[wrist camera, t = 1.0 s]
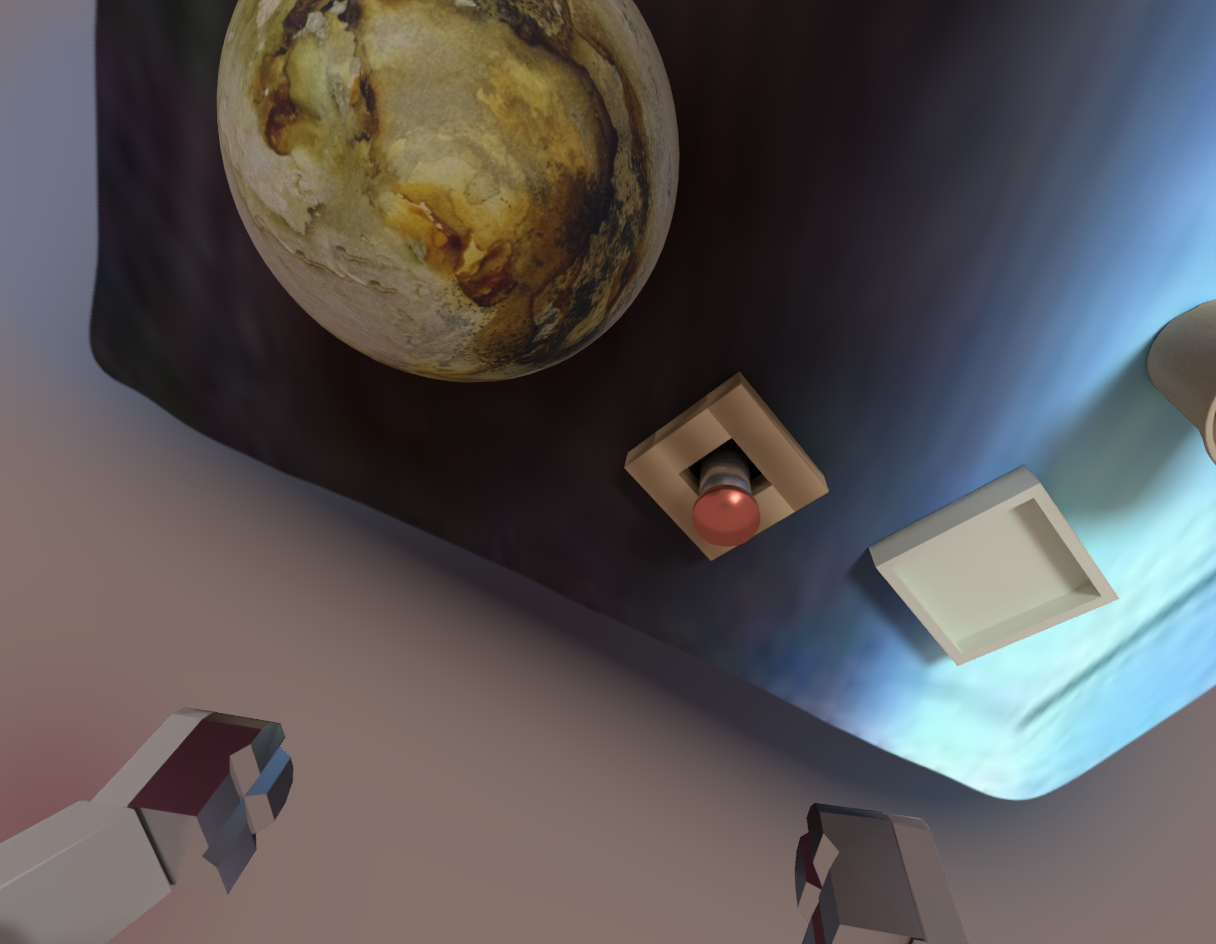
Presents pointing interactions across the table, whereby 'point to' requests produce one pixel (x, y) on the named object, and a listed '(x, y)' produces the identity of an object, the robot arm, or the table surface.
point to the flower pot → (1189, 368)
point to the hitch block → (707, 427)
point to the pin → (725, 498)
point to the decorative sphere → (452, 171)
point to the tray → (992, 568)
